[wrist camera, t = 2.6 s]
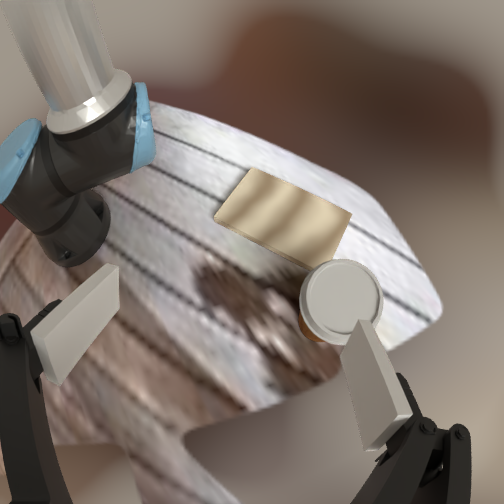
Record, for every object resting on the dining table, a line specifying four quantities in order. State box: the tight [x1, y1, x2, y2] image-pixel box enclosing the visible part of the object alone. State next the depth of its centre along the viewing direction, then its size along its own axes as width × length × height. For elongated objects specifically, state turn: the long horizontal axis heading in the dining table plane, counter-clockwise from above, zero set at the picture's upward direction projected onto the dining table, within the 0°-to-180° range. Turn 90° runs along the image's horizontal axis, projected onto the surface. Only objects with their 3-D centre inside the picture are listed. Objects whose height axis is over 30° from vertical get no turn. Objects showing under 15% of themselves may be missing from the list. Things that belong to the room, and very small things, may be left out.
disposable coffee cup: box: [298, 259, 383, 345], centre depth 32 cm, size 10×10×12 cm
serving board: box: [214, 167, 352, 271], centre depth 44 cm, size 19×12×2 cm, turn 60°
